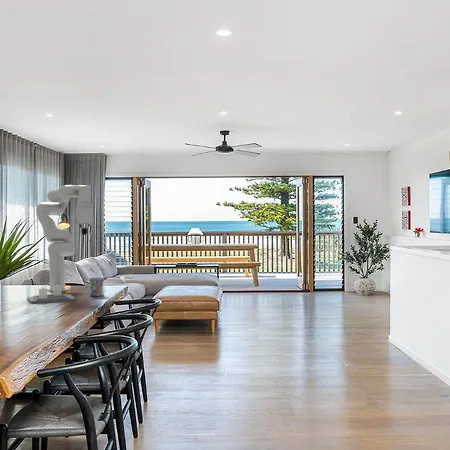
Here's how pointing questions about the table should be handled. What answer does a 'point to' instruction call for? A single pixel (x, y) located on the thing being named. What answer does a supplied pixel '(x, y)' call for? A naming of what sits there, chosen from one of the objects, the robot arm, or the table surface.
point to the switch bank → (50, 299)
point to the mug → (96, 286)
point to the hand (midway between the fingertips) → (84, 234)
